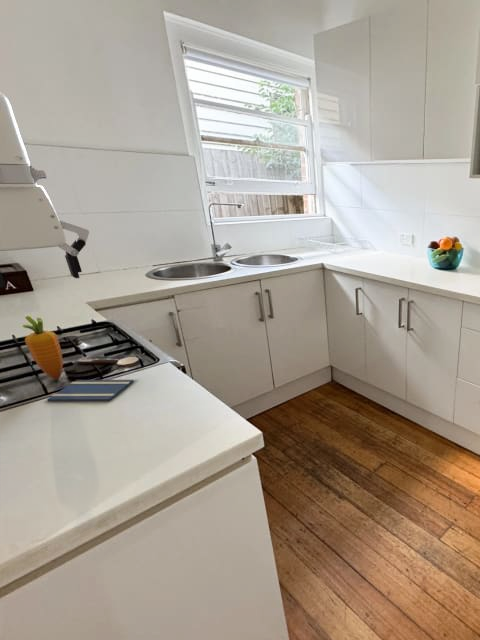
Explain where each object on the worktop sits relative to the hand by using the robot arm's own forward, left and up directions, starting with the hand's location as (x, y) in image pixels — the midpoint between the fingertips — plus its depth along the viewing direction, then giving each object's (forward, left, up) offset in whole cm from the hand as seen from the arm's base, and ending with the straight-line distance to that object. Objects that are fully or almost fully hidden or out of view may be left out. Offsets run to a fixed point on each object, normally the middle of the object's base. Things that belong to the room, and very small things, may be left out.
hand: (41, 281), depth 68 cm
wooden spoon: (-6, +17, -25) cm, 31 cm away
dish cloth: (-1, +4, -25) cm, 25 cm away
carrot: (-12, +9, -25) cm, 29 cm away
